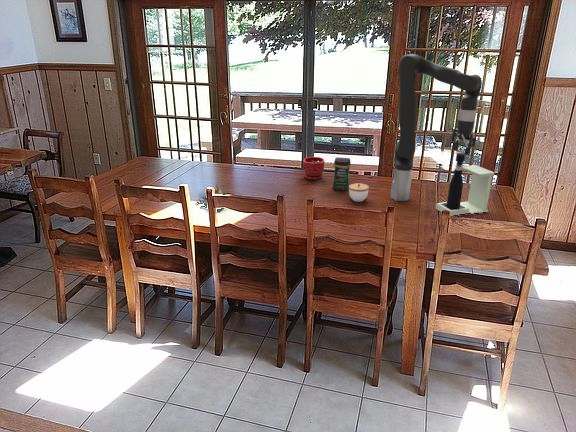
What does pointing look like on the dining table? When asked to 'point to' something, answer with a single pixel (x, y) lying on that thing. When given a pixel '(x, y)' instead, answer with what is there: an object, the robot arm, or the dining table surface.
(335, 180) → the coffee jar
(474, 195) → the sage socket stand
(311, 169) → the plant pot
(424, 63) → the robot arm
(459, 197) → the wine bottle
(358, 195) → the lidded jar
